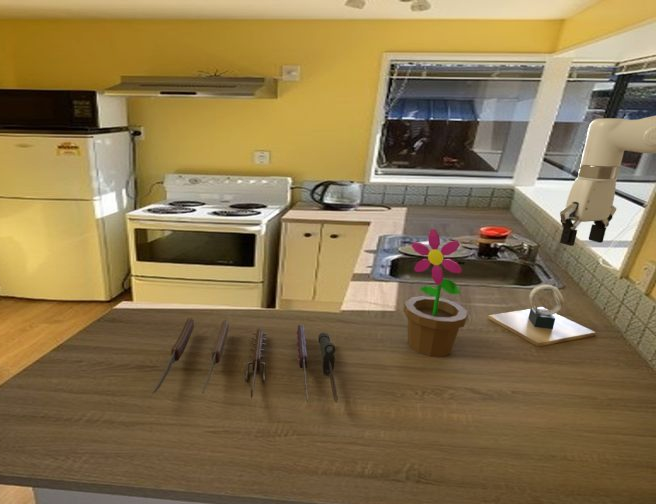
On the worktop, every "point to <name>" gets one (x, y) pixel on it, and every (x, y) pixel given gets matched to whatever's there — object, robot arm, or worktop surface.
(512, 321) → the board
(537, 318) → the watch
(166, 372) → the knife set
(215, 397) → the worktop surface
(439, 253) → the flowerpot
